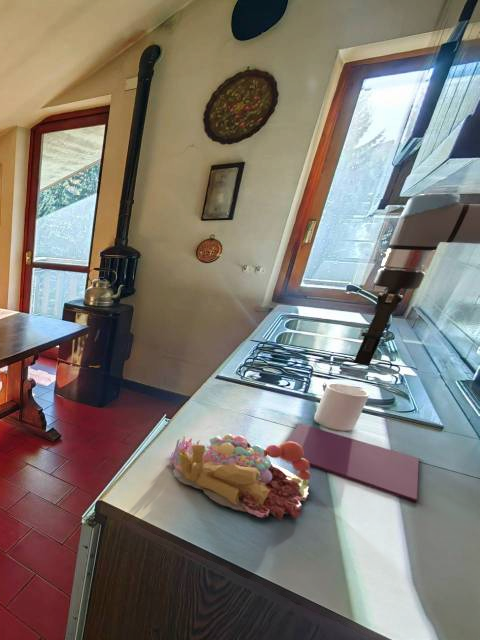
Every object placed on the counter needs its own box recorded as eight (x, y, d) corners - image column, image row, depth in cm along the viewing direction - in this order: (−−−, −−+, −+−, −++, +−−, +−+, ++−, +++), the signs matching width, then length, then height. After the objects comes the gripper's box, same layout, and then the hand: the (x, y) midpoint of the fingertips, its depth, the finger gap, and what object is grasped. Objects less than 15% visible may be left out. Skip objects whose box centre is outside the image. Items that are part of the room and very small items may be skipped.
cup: (311, 423, 105) (325, 389, 101) (315, 410, 113) (328, 377, 109) (353, 434, 100) (369, 399, 96) (354, 419, 108) (369, 386, 104)
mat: (417, 460, 89) (419, 458, 89) (415, 502, 75) (417, 499, 75) (298, 425, 104) (299, 423, 104) (278, 454, 90) (279, 452, 90)
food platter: (296, 541, 65) (316, 497, 62) (153, 480, 80) (163, 442, 77) (311, 478, 82) (327, 440, 79) (190, 437, 97) (200, 404, 94)
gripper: (382, 264, 98) (348, 345, 107) (375, 271, 83) (337, 365, 91) (425, 267, 93) (387, 351, 102) (427, 275, 78) (381, 373, 86)
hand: (363, 358), depth 96 cm, fingers open, 13 cm apart
